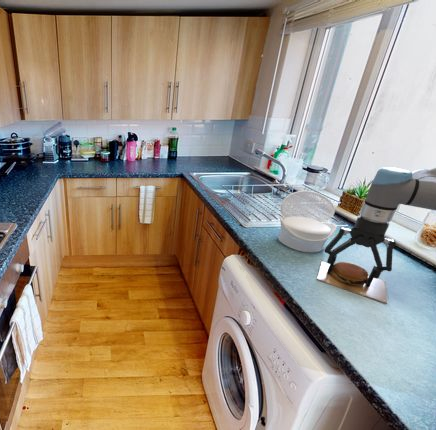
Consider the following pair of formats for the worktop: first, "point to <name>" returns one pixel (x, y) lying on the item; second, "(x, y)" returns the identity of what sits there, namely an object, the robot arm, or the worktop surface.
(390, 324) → the worktop surface
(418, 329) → the worktop surface
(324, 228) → the plastic deli container
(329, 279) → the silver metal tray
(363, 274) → the burger
